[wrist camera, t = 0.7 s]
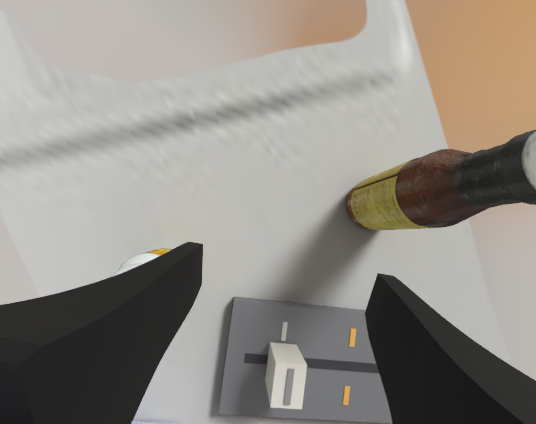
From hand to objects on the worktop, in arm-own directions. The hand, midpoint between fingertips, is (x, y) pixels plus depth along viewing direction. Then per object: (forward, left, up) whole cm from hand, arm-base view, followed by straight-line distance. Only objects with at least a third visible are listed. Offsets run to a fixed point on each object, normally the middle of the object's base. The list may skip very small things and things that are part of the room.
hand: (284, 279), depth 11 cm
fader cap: (-12, -5, -19) cm, 23 cm away
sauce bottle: (+7, -14, -21) cm, 26 cm away
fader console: (-12, -10, -21) cm, 26 cm away
